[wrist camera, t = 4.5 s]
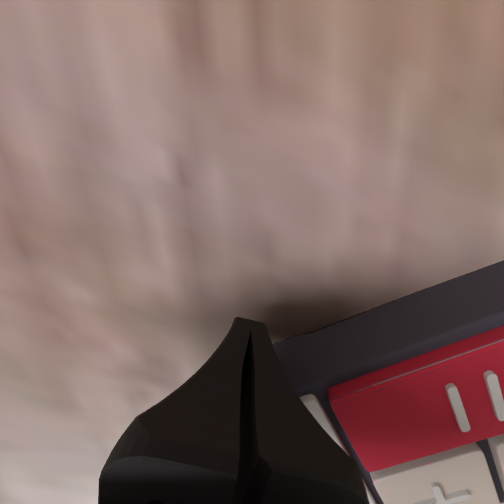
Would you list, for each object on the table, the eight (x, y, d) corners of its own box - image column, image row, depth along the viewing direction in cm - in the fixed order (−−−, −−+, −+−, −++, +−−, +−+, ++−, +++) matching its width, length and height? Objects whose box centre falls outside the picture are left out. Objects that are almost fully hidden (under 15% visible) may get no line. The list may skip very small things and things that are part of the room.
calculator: (651, 491, 12) (319, 570, 15) (553, 404, 16) (306, 479, 19) (645, 283, 9) (214, 434, 11) (522, 238, 13) (225, 358, 15)
